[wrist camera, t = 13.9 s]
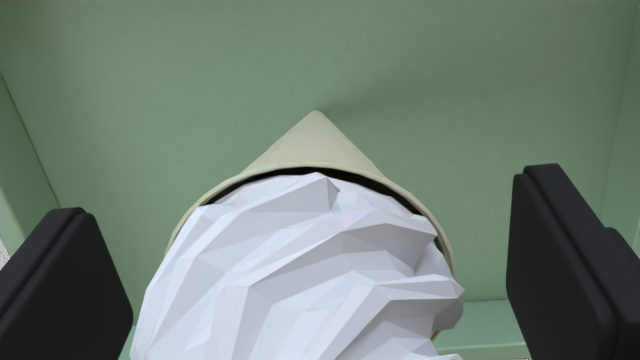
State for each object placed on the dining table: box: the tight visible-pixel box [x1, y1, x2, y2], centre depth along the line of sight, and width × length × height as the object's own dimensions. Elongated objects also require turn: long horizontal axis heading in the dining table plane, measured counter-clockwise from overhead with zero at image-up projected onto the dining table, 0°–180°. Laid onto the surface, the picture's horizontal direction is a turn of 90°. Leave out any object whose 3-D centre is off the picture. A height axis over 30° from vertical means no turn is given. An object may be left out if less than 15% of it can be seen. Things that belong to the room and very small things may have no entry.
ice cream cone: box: [129, 110, 465, 360], centre depth 10 cm, size 5×5×15 cm
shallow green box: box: [0, 0, 640, 360], centre depth 16 cm, size 18×20×3 cm
